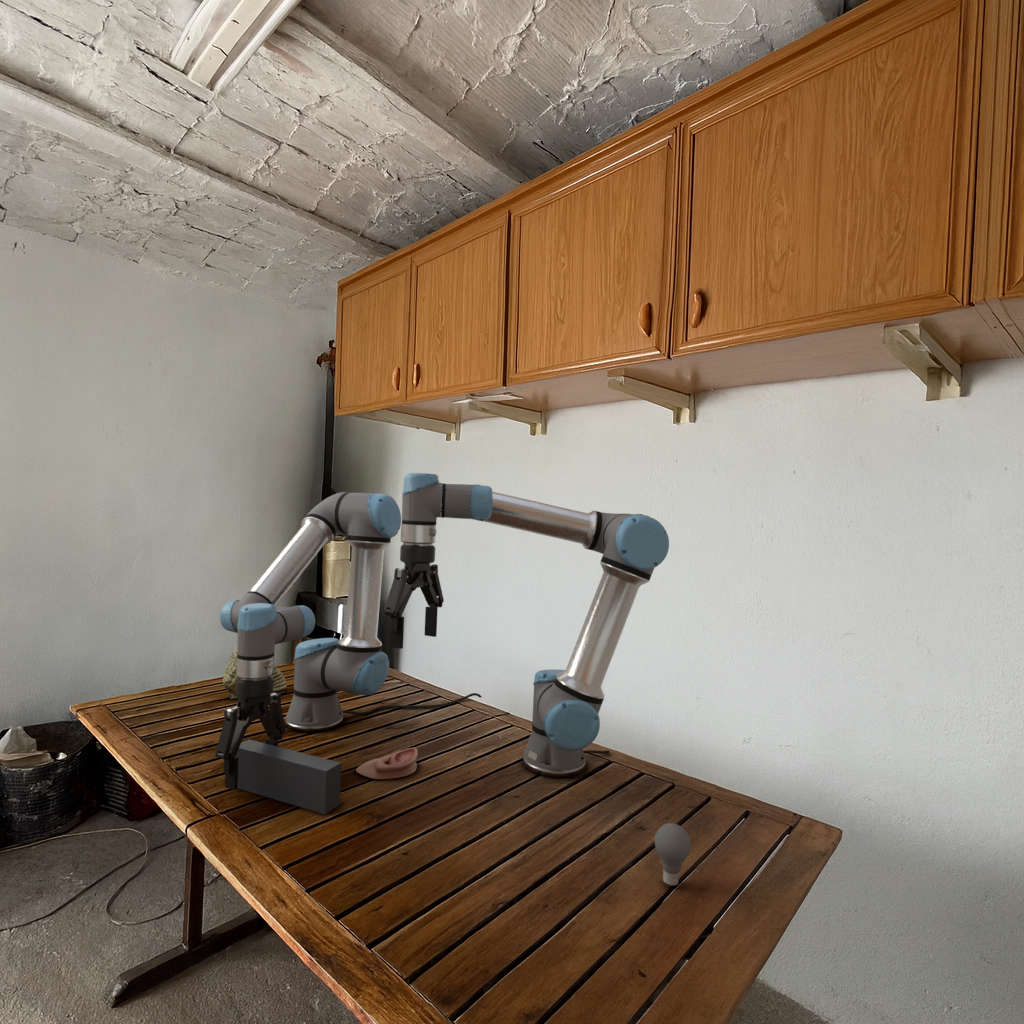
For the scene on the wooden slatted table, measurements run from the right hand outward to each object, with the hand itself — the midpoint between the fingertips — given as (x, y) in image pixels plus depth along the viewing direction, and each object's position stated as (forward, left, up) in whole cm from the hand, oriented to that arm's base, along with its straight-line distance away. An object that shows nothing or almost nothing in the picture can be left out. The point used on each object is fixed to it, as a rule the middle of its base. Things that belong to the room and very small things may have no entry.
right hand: (414, 641), depth 138 cm
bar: (+25, -7, -33) cm, 42 cm away
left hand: (+31, -15, -31) cm, 46 cm away
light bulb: (-30, +50, -33) cm, 67 cm away
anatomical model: (+1, -11, -33) cm, 35 cm away
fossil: (+24, -80, -33) cm, 89 cm away
